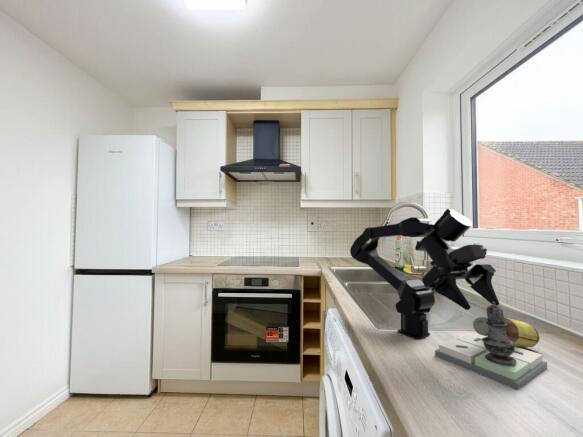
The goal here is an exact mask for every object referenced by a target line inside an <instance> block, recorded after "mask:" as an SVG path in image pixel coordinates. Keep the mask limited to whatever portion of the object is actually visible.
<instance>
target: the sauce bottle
mask: <svg viewBox="0 0 583 437" xmlns="http://www.w3.org/2000/svg"><path fill="white" fill-rule="evenodd" d="M486 321H488V318H487V317H483V316H479V317H476V318H475V319H474V320H473V322H472V326H473V329H474V331H475V332H476V333H477V335H479V336H482V337H487V336H488V333H489V330H488V324H487V323H486ZM504 322H505V323H506V324H507V325H506V326H505V329H506V335H507V337H508V339H509V340H511V341H513V342H515V343H516V346H515V347H519V348H533V347H535V346H536V345H537V344H538V343H539V342H540V334H539V332H538V329H536V328H535V327H534V326H533V325H531V324H530V323H527V322H525V321H521V320H518V319H517V320H516V319H512V318H507V317H504Z"/></svg>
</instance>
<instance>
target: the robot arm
mask: <svg viewBox="0 0 583 437" xmlns="http://www.w3.org/2000/svg"><path fill="white" fill-rule="evenodd" d="M472 226H473V223H472V221H471V220H470V218H468V217H467V216H464V215H463V214H461V213H459V212H457V211H455V210H454V209H453V208H447V209H446V210H444V212H443V213H442V215H441V216H440V217H439V218H438V219H437V220H436V221H435V222H434V221H432V220H431V219H430V218H429V217H418V216H417V217H408V218H406V219H402V220H400V221H399V222H398V223H394V224H388V225H379V226H374V227H373V226H371V227H369V226H368V227H366V228H364V230H363V232H362V233H361V234H360V235H359V236H358V237H357V238H356V239H355V240H354V242H353V243H352V245H351V247H350V249H349V252H350V256H351V257H352V258H353V259H354V260H355V261H357V262H360V263H362V264H364V265H367V266H369V267H370V268H371V269H372V270H373V271H374V272H376V273H377V274H378V275H379V276H380V277H381V278H382V279H383V280H385V281H386V282H387V283H388V284H389V285H390V286H391V287H392V288H394V289H395V291H397V294H398V295H397V296H398V297H399V300H398V302H396V303H395V305H394V306H395V309H396V313H399V314H400V329H397V333H399V334H401V335H405V336H407V337H410V338H413V339H415V340H420V339H422V338H425V337H427V336H430V335H431V333H430V332H429V321H428V319H427V313H430V312H431V309H432V307H434V305H435V302H436V298H435V293H434V292H436V293H438V294H440V296H443V297H445V298H446V299H448V300H450V301H452V302H453V303H455V304H456V305H458V306H460V307H461V308H462V309H464V310H466V311H468V310H470V309H471V308H472V307H471V305H470V303H469V302H468V300H467V298H466V297H465V295H464V293H463V292H462V291H461V289H460V288H459V287H458V285H457V280H464V281H465V282H466V283H467V284H469V285H470V286H469V287H470V288H471V289H472V290H473V291H475V292H476V293H477V294H479V295H480V296H481V297H482V298H484V299H485V300H486V301H487V302H488V303H490V304H491V305H493V303H492V302H493V301H494V302H495V305H497V306H499V305H500V301H499V300H498V297H497V294H496V292H495V290H494V287H493V286H494V285H493V283H492V278H493V277H494V276H495V273H496V269H495V268H494V267H493V266H492V265H491V264H488V263H479V264H477V263H476V264H475V265H473V262H474V261H477V260H482V259H486V257H487V256H486V255H487V252H488V250H487V248H486V247H484V245H483V244H481V243H476V242H475V243H473V244H467V245H463V246H462V247H458V248H452V246H450V244H449V243H448V242H457V240H458V239H459V238H461V237H462V236H463V235H464V234H465V233H466V232H467V231H468V230H469V229H470V228H472ZM390 237H391V238H392V237H407V238H421V240H417V241H416V244H415V247H414V250H415V251H418V252H425V253H426V254H427V255H428V256H429V258H430V260H431V262H430V265H431V268H429V270H428V271H427V272H426V273H425V274H424V275H423V276H422V280H421V279H420V278H419V279H417V278H416V279H408V278H407V277H406V276H405V275H403V274H402V273H401V272H399V271H398V270H397V269H396V268H394V267H393V266H392V265H391V264H390V263H388V262H387V261H386V260H384V258H382V257H381V256H379V253H378V250H377V249H378V248H379V240H380V239H381V238H390ZM369 241H370V242H369ZM470 267H471V268H470ZM468 268H470V269H469V270H468Z"/></svg>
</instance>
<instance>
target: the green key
mask: <svg viewBox="0 0 583 437" xmlns="http://www.w3.org/2000/svg"><path fill="white" fill-rule="evenodd" d="M488 353H490V352H489V351H487V352H485V353H483V354H481V355H479V356H477V357H475V365H476V366H479V367H481V368H484V369H487V370H489V371H492V372H494V373H497V374H499V375H502V376H504V377H507V378H509V379H512V380H517V379H518V378H520V377H521V376H523V375H524V374H525V373H527V372H528V371H529V363H526V362H523V361H520V360H517V359H515V360H516V364H511V365H507V364H500V363H495V362H492V361H490V360H488V359H486V358H485V355H486V354H488Z"/></svg>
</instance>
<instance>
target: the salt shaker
mask: <svg viewBox="0 0 583 437" xmlns="http://www.w3.org/2000/svg"><path fill="white" fill-rule="evenodd" d="M492 303H493V304H491V305H488V306H487V307H486V316H487V317H486V318H487V319H488V321H486V323H487V324H488V330H489V333H488V336H483V337H484V338H482V341H483V342H484V346H485V348H486V349H487V350H488V351H489V352H490V353H488V354H486V355H485V358H486V359H488V360H490V361H492V362H495V363H500V364H507V365H511V364H516V360H515V359H514V358H512V357H511V356H510V355H511V354H513V353H514V350H515V347H517V346H516V343H515V342H513V341H511V340H509V339H508V337H507V335H506V329H505V326H506V325H507V324H506V323H505V322H504V318H505V316H504V310H503V308H502V307H500V306H499V305H498V306H497V305H495V302H494V301H493V302H492Z"/></svg>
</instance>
